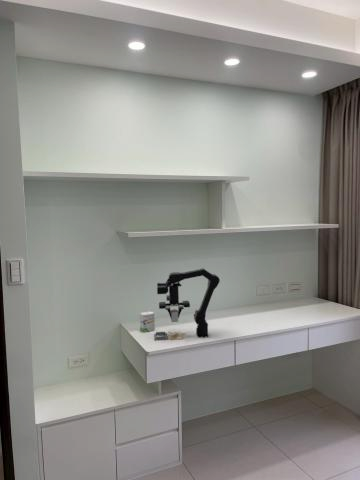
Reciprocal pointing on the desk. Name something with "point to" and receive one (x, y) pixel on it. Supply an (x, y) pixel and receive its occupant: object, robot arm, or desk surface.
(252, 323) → the desk surface
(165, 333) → the grey square frame
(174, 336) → the cork pad
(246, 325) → the desk surface
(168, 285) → the robot arm
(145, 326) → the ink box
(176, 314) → the cable plug
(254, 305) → the desk surface
